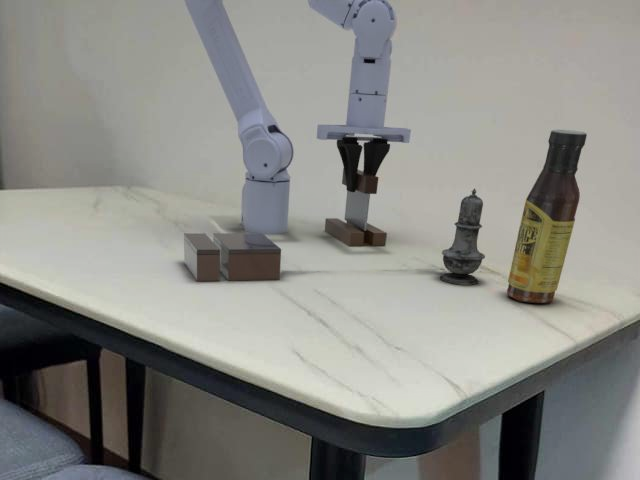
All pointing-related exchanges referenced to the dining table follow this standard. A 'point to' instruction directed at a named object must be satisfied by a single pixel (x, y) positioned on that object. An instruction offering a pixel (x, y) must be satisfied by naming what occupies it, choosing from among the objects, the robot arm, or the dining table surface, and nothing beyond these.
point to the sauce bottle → (547, 222)
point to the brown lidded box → (248, 256)
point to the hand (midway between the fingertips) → (358, 191)
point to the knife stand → (355, 233)
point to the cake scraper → (360, 199)
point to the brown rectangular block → (202, 257)
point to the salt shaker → (465, 244)
